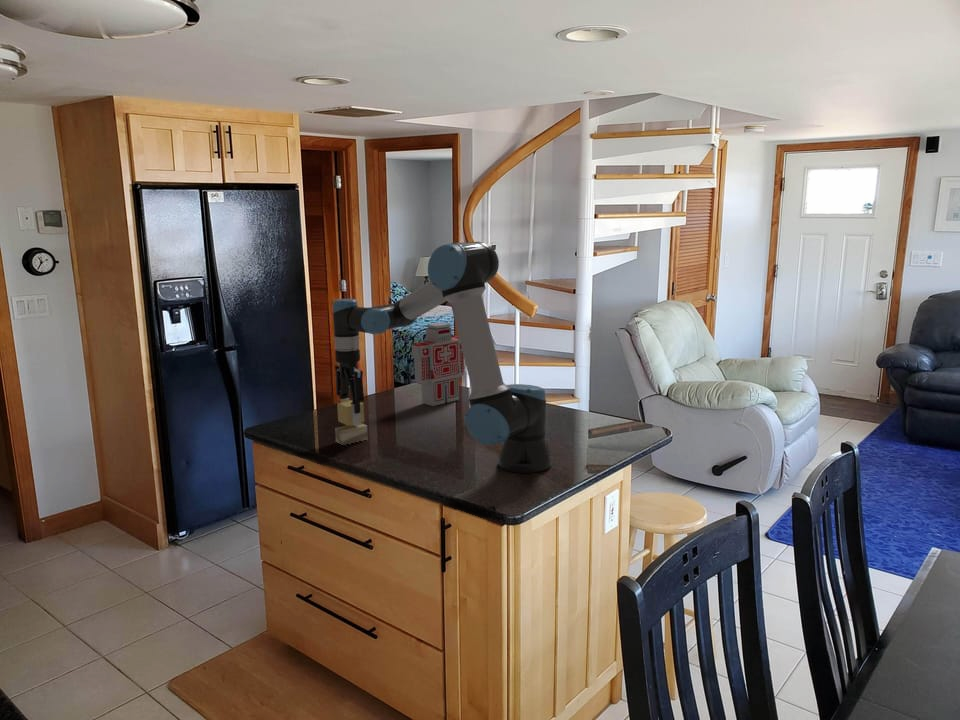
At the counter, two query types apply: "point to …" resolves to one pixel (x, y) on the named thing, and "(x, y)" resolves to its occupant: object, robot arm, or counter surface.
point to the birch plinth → (351, 433)
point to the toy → (438, 365)
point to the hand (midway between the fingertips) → (351, 420)
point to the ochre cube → (348, 412)
